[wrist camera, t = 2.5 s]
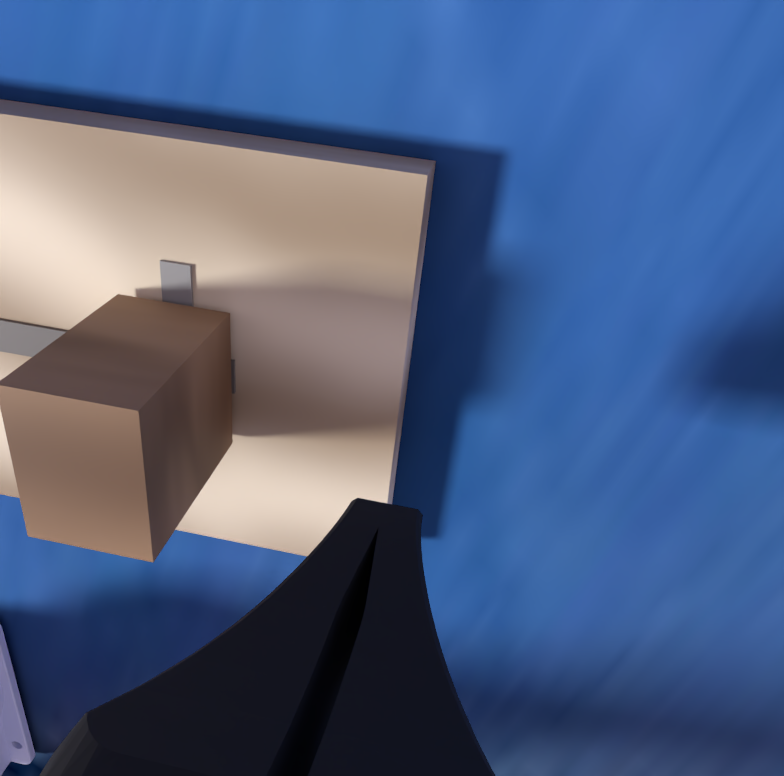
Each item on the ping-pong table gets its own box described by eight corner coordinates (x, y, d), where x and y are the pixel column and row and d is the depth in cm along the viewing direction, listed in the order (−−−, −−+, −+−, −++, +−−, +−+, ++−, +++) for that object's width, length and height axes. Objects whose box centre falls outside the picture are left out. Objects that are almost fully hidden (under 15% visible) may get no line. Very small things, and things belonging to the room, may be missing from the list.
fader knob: (232, 442, 20) (153, 562, 16) (131, 423, 20) (28, 536, 16) (230, 313, 18) (138, 411, 14) (117, 294, 18) (-5, 384, 14)
